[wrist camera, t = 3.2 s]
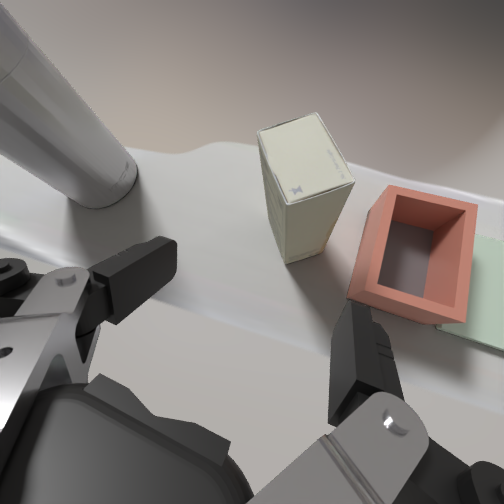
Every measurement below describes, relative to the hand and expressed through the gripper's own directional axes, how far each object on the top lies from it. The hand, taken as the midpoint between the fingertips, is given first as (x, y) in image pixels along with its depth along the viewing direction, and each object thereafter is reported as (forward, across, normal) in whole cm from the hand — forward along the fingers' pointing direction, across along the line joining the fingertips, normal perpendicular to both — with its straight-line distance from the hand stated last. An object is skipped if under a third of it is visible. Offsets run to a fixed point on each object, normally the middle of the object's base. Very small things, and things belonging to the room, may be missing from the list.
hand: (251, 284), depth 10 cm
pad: (+16, -18, +3) cm, 24 cm away
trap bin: (+16, -10, +3) cm, 19 cm away
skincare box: (+16, 0, +4) cm, 16 cm away
